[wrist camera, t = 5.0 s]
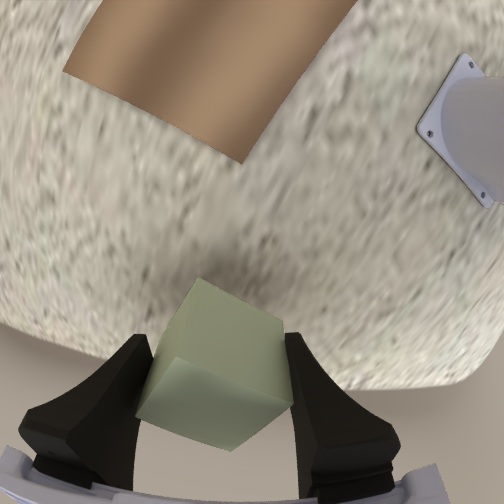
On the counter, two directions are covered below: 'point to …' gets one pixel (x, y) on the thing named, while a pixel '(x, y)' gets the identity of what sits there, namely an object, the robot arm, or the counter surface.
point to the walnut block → (205, 60)
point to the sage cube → (217, 370)
